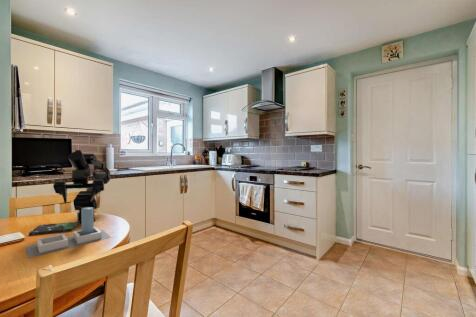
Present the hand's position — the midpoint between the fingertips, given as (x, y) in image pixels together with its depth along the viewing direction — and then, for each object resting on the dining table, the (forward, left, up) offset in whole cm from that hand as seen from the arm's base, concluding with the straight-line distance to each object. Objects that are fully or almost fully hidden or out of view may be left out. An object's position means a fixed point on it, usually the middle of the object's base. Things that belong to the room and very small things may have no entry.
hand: (78, 202), depth 99 cm
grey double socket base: (+5, +12, -13) cm, 19 cm away
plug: (-1, +12, -12) cm, 18 cm away
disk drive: (+7, -8, -14) cm, 18 cm away
